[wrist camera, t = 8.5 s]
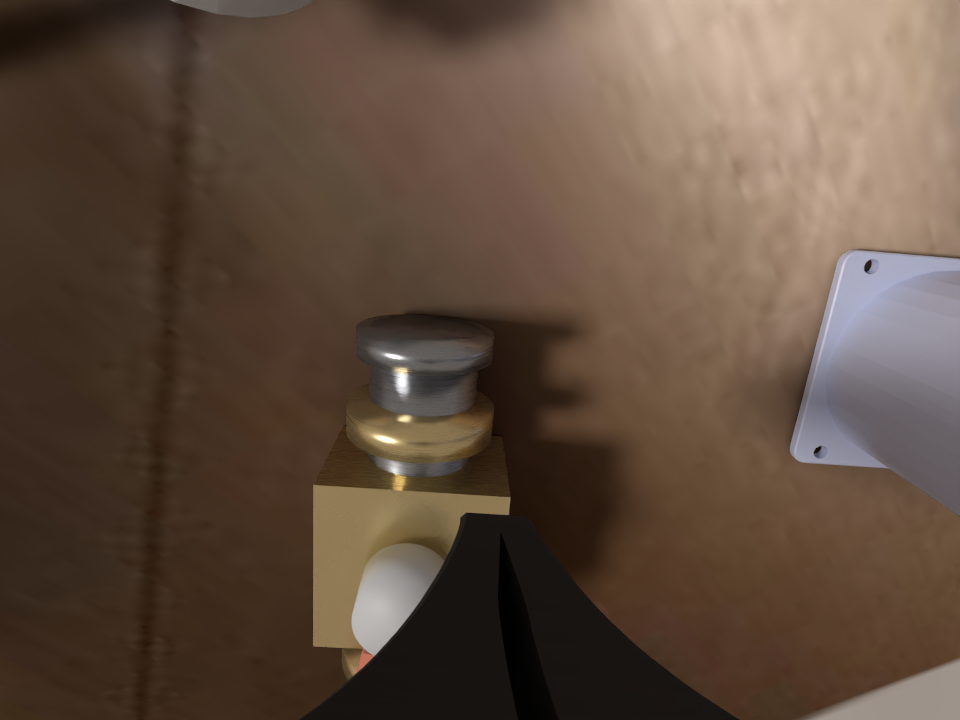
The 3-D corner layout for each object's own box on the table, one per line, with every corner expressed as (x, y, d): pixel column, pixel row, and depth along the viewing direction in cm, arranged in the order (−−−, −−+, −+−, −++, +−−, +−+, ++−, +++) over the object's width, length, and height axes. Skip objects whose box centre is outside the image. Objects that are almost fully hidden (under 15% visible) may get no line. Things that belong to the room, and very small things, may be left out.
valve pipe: (345, 308, 21) (311, 344, 16) (514, 321, 21) (527, 360, 16) (339, 652, 25) (311, 757, 21) (479, 659, 25) (481, 764, 21)
